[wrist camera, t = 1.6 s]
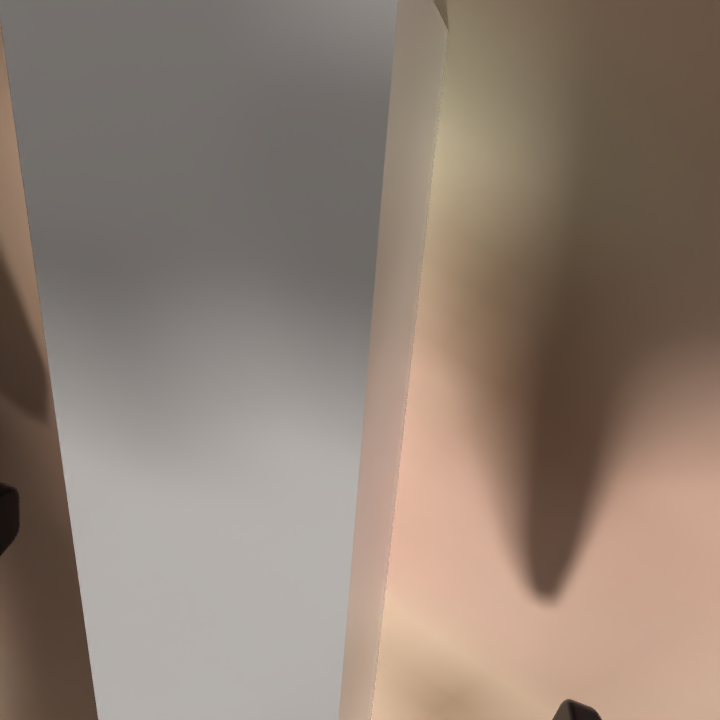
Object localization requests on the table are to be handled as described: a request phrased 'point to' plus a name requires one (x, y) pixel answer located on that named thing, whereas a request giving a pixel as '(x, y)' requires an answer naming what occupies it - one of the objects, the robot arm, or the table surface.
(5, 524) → the robot arm
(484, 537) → the table surface
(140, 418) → the light gray rectangular bar
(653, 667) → the table surface
